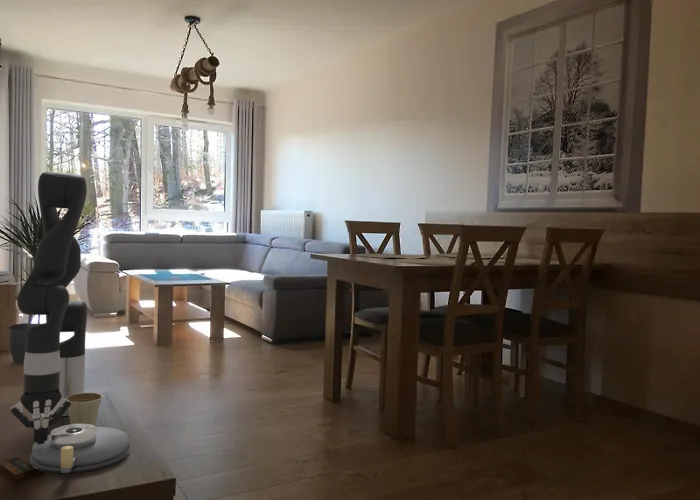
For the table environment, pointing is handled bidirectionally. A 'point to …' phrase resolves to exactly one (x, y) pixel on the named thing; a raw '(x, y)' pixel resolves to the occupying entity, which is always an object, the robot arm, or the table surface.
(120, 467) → the table surface
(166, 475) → the table surface
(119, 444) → the turntable
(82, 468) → the turntable base
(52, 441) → the cover
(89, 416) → the flower pot
